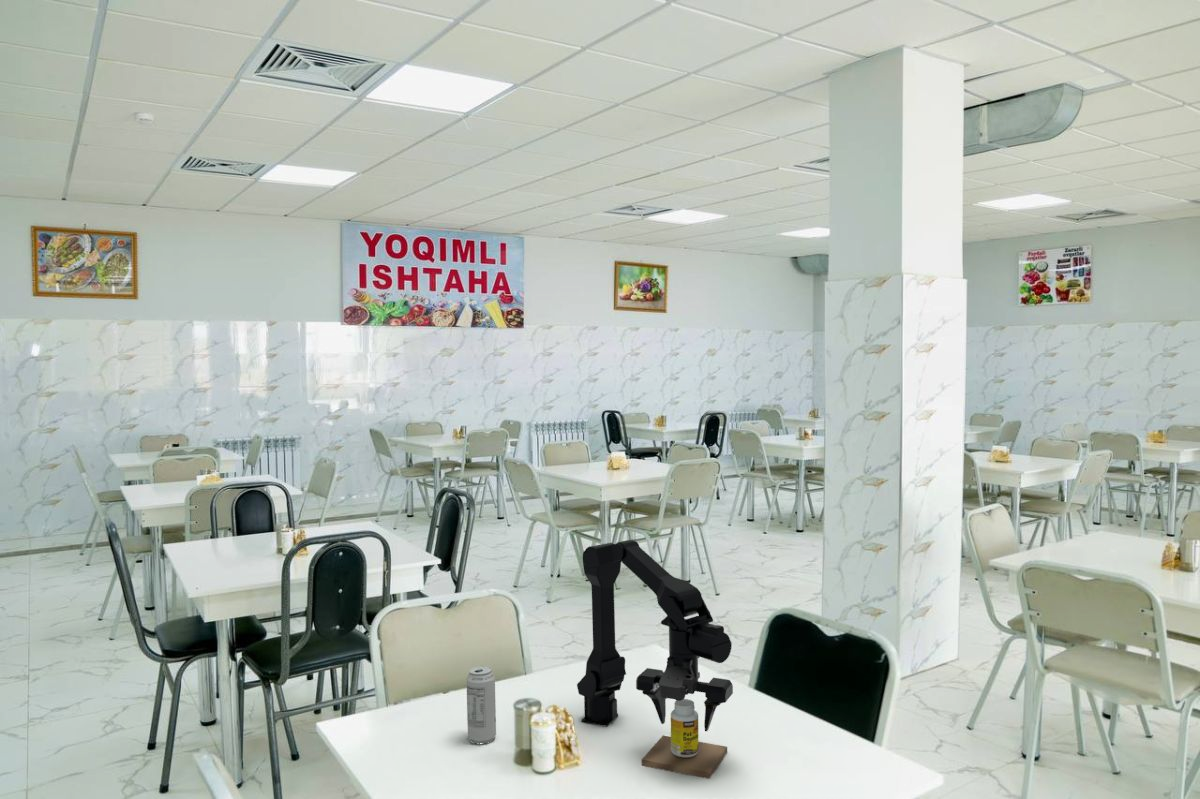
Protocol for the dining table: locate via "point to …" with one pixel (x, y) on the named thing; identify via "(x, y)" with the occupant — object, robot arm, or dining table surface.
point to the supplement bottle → (684, 729)
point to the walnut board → (696, 765)
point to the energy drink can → (481, 705)
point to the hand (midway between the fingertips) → (684, 726)
